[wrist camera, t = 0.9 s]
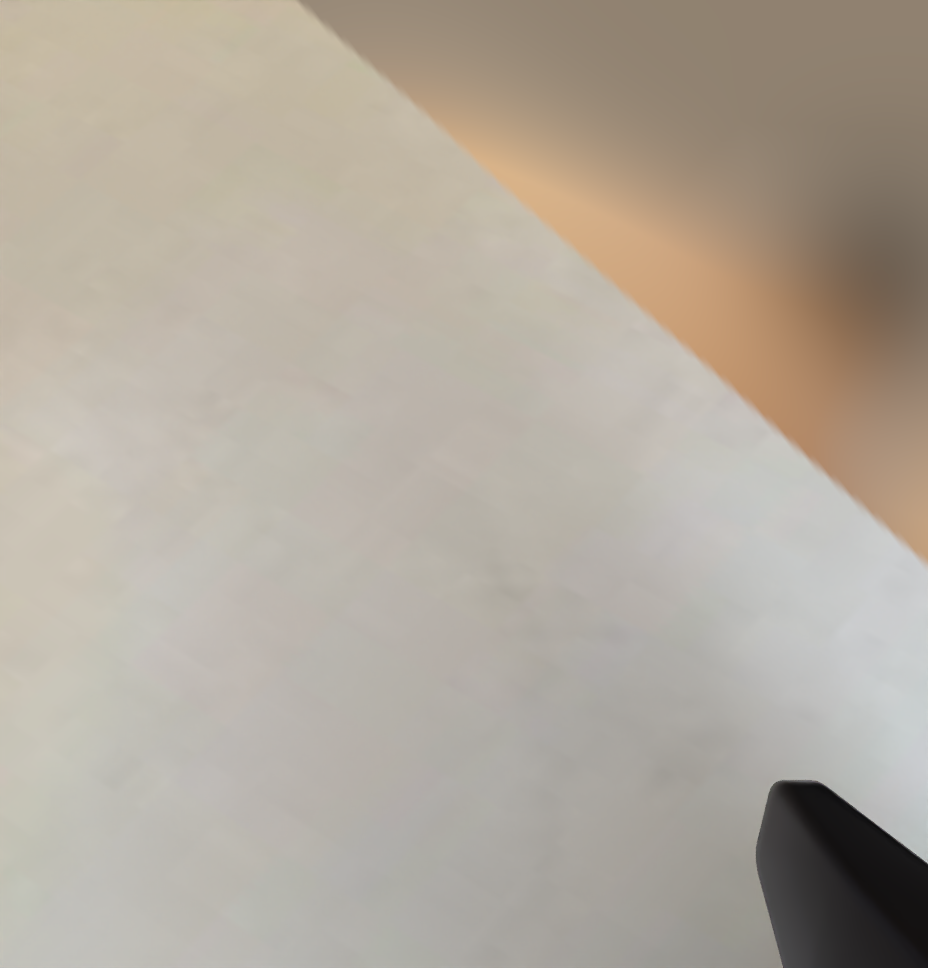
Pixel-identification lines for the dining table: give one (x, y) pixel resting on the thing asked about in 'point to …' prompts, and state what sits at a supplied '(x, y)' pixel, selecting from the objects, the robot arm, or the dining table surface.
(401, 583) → the dining table surface
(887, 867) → the robot arm
